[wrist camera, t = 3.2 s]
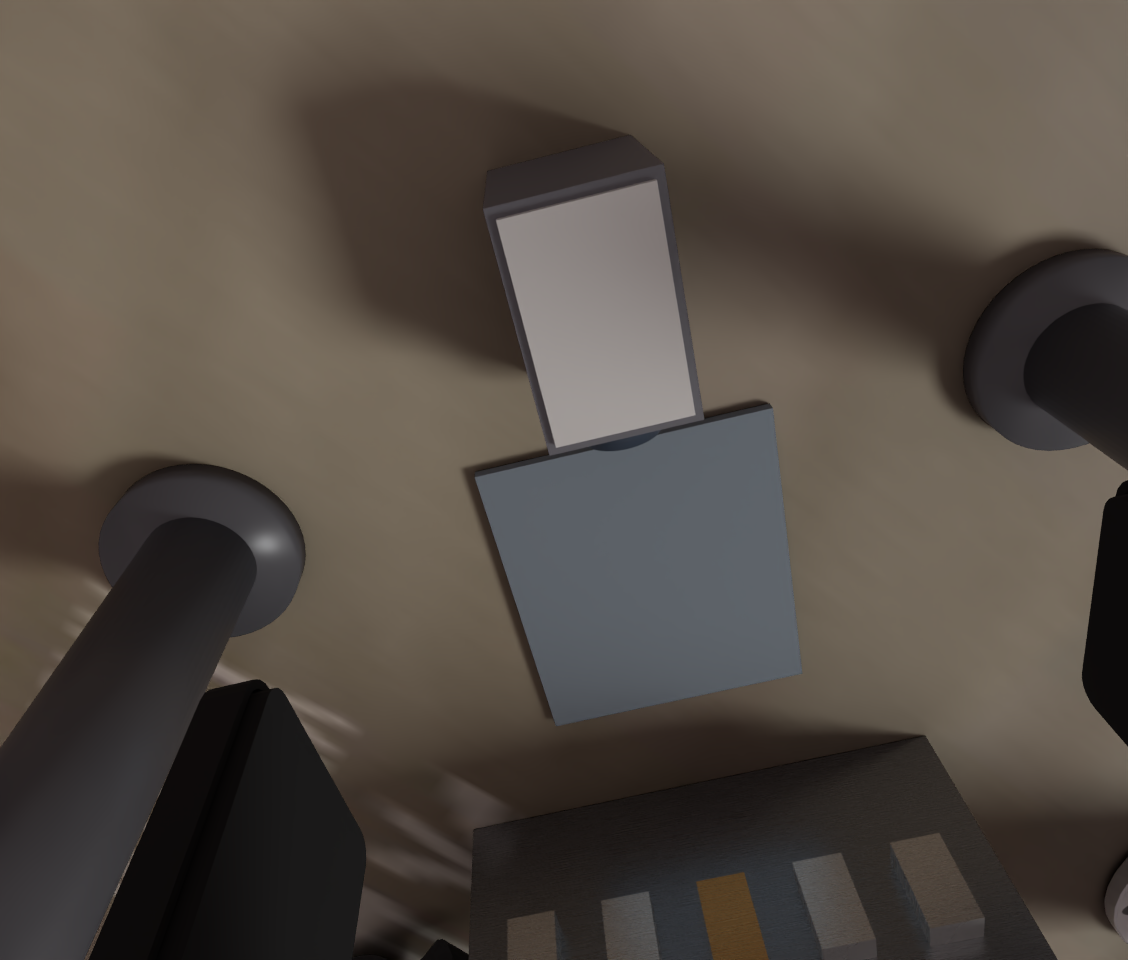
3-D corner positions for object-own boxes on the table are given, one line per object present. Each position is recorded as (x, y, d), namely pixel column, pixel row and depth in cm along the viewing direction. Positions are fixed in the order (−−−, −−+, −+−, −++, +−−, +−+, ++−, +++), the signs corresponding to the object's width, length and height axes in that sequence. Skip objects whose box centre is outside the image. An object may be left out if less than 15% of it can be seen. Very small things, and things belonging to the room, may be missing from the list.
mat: (769, 403, 29) (772, 407, 29) (799, 667, 36) (802, 673, 35) (475, 472, 30) (474, 477, 30) (555, 719, 36) (556, 726, 36)
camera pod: (630, 134, 25) (665, 164, 19) (672, 373, 29) (710, 453, 23) (487, 171, 25) (482, 210, 20) (547, 402, 29) (557, 488, 24)
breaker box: (925, 717, 38) (1125, 1047, 26) (926, 804, 41) (1105, 1137, 29) (466, 813, 39) (449, 1172, 27) (500, 891, 42) (498, 1245, 30)
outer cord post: (261, 444, 29) (-231, 1287, 10) (332, 597, 32) (75, 1444, 13) (76, 488, 29) (-751, 1381, 10) (165, 634, 33) (-324, 1512, 13)
